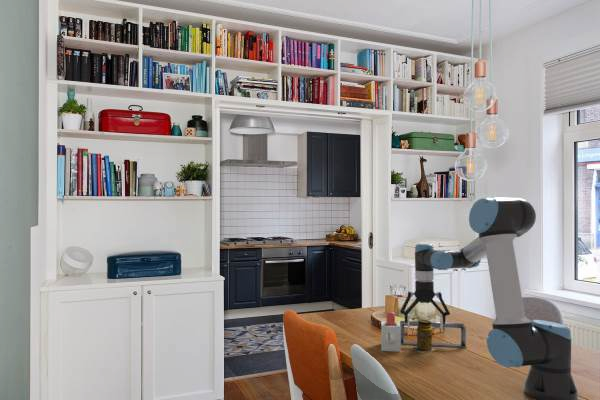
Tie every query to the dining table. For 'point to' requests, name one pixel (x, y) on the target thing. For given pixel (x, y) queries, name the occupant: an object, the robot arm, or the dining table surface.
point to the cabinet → (390, 337)
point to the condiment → (424, 337)
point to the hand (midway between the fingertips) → (424, 331)
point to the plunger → (390, 318)
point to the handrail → (437, 324)
